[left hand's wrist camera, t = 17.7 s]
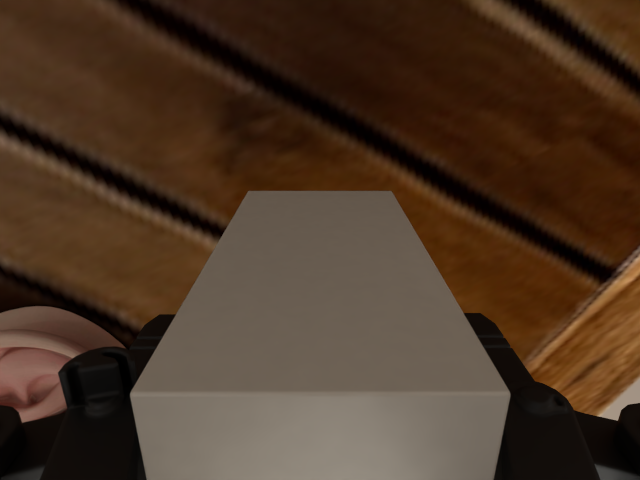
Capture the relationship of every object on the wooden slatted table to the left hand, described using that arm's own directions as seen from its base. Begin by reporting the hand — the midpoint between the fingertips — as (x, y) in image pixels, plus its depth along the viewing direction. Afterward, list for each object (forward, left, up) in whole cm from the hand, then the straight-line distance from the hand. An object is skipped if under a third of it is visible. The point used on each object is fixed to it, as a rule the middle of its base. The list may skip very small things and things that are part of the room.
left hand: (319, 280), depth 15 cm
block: (0, 0, -1) cm, 1 cm away
